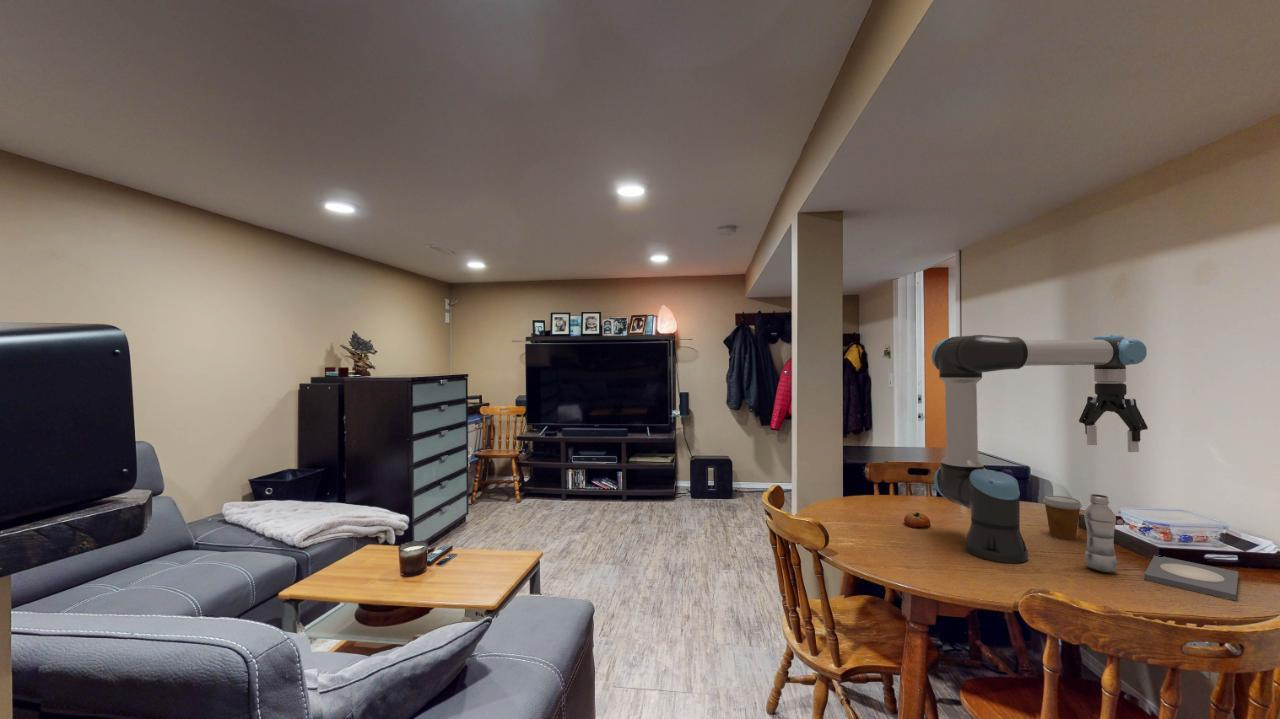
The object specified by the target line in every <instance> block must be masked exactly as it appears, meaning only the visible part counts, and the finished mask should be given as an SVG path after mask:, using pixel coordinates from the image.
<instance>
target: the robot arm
mask: <svg viewBox="0 0 1280 719" xmlns="http://www.w3.org/2000/svg"><path fill="white" fill-rule="evenodd" d="M1146 358H1147V346H1146V345H1145V343H1144V342H1143V341H1141V340H1140V339H1137V338H1136V339H1134V338H1125V337H1124V336H1123V335H1120V334H1113V335H1112V334H1111V335H1107V334H1106V335H1096V336H1094V337H1093V339H1048V340H1047V339H1043V340H1041V339H1035V340H1034V339H1033V340H1031V339H1030V340H1029V339H1028V340H1026V339H1025V340H1024V339H1023V338H1021V337H1018V336H1000V335H999V336H997V335H988V334H974V335H962V336H961V335H960V336H951V337H948V338H944V339H942V340H940V341H939V342H938V343H937V344H936V345H935V346H934V348H933V349H932V353H931V361H932V364H933V366H934V367H935V368H936V370H938V372H939V377H938V378H939V380H941V381H942V383H944V397H945V398H944V400H945V402H944V403H945V405H944V406H945V409H944V410H945V442H946V443H945V449H946V450H945V454H946V456H945V457H943V458H942V459H941V461H940V467H938V470H936V471H935V473H934V477H933V482H934V487H935V489H936V491H937V492H938V493H939V495H941V496H942V497H943V498H944V499H946V500H948V501H949V502H951V503H954V504H956V505H957V504H958V505H959V506H962V507H964V508H967V509H969V510H970V521H971V523H970V525H969V529H968V531H967V534H966V537H965V538H964V550H965V551H966V552H967V553H969V554H971V555H973V556H975V557H978V558H981V559H983V560H987V561H992V562H997V563H1003V564H1004V563H1005V564H1022V563H1026V562H1027V561H1028V560H1029V552H1028V548H1027V546H1026V543H1025V541H1024V539H1023V535H1022V533H1021V528H1020V525H1021V524H1020V514H1021V513H1020V510H1021V509H1020V505H1021V504H1020V503H1021V502H1020V494H1021V491H1020V488H1019V487H1020V486H1019V482H1018V480H1017V479H1016V477H1014V476H1012V475H1010V474H1008V473H1006V472H1005V473H1004V472H1003V471H997V470H992V469H985V464H984V462H982V460H980V459H979V448H978V447H979V444H978V443H979V441H978V438H979V437H978V435H979V434H978V404H977V403H978V402H977V401H978V399H977V398H978V394H977V390H978V389H977V384H978V382H980V381H981V380H982V379H983V373H989V372H997V371H1005V370H1019V369H1021V368H1023V367H1027V366H1034V367H1035V366H1036V367H1037V366H1093V370H1094V371H1093V373H1094V374H1093V377H1094V378H1093V380H1094V382H1095V384H1094V394H1095V395H1096V396H1094V395H1093V396H1087V399H1086V404H1085V406H1084V407H1083V408H1084V409H1083V411H1081V412H1082V413H1081V415H1080V417H1079V419H1078V423H1079V424H1081V423H1082V424H1084V428H1085V435H1086V445H1087V446H1097V445H1098V440H1097V438H1098V437H1097V436H1098V435H1097V429H1098V428H1097V425H1096V423H1097V421H1098V420H1099V419H1100V418H1101V417H1102V416H1103V414H1104V413H1106V412H1111V413H1112V412H1114V413H1115V414H1117V416H1119V417H1120V419H1121V420H1122V421H1123V423H1124V424H1125V425H1126V426H1127V427H1128V430H1127V431H1126V433H1127V435H1126V436H1127V452H1128V453H1139V452H1140V448H1139V446H1140V445H1139V443H1140V441H1141V431H1144V430H1148V429H1149V428H1148V425H1147V423H1146V421H1145V419H1144V418H1143V415H1142V414H1141V412H1140V409H1139V407H1138V406H1137V405H1138V404H1137V400H1136V398H1125V396H1126V395H1127V393H1128V392H1127V390H1128V389H1127V384H1126V383H1127V382H1126V381H1127V366H1129V365H1138V364H1141V363H1142V362H1144V360H1145V359H1146ZM1125 382H1126V383H1125Z"/></svg>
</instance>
